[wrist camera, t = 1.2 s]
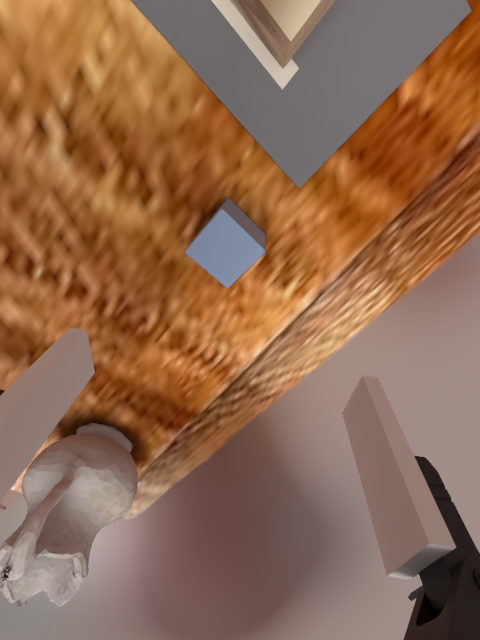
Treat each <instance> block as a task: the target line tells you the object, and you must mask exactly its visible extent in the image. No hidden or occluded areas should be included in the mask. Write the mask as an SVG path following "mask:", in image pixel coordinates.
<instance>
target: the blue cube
mask: <svg viewBox="0 0 480 640" xmlns="http://www.w3.org/2000/svg"><path fill="white" fill-rule="evenodd" d="M265 251H266V234H265V233H264V232H263V231H262V230H261V229H260V228H259V227H258V226H257V225H256V224H255V223H254V222H253V221H252V220H251V219H250V218H249V217H248V216H247V215H246V214H245V213H244V212H243V211H242V210H241V209H240V208H239V207H238V206H237V205H236V204H235V203H234V202H233V201H232V200H231V199H230V198H229V197H228V198H227V200H226V201H225V202H224V203H223V204H222V205H221V207H220V208H219V209H218V210H217V211H216V213H215V214H214V215H213V216H212V217H211V218H210V220H209V221H208V222H207V223H206V224H205V226H204V227H203V228H202V229H201V230H200V231H199V233H198V234H197V235H196V236H195V238H194V239H193V241H192V242H191V244H190V245H189V246H188V248H187V249H186V251H185V253H186V254H187V255H189V256H190V257H191V258H192V259H193V260H194V261H196V262H197V263H198V264H199V265H200V266H202V267H203V268H204V269H205V270H206V271H207V272H209V273H210V274H211V275H212V276H213V277H214V278H216V279H217V280H218V281H219V282H220V283H222V284H223V285H224V286H225V287H226V288H228V287H229V286H230V285H231V284H232V283H233V282H235V281H236V280H237V279H238V278H239V277H240V276H241V275H242V274H243V273H244V272H245V271H246V270H247V269H248V268H249V267H250V266H251V265H252V264H253V263H254V262H255V261H256V260H257V259H258V258H259V257H260V256H261V255H262V254H263V253H264V252H265Z"/></svg>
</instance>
